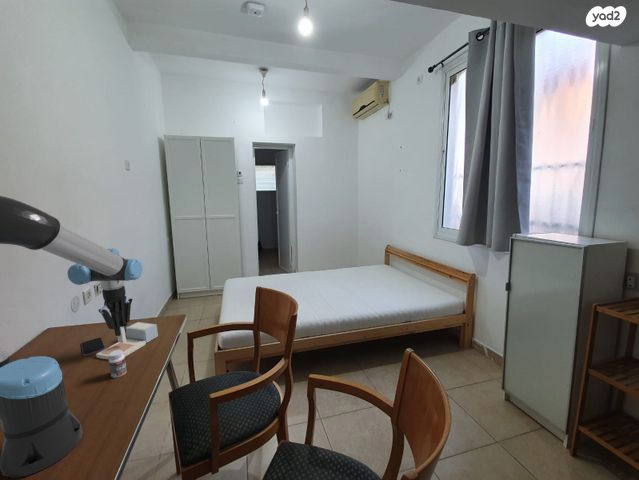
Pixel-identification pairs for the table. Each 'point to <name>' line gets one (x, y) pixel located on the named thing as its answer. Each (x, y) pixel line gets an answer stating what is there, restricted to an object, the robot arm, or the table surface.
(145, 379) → the table surface
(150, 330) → the blue framed panel box
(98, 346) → the smartphone
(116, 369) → the pill bottle
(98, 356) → the board
